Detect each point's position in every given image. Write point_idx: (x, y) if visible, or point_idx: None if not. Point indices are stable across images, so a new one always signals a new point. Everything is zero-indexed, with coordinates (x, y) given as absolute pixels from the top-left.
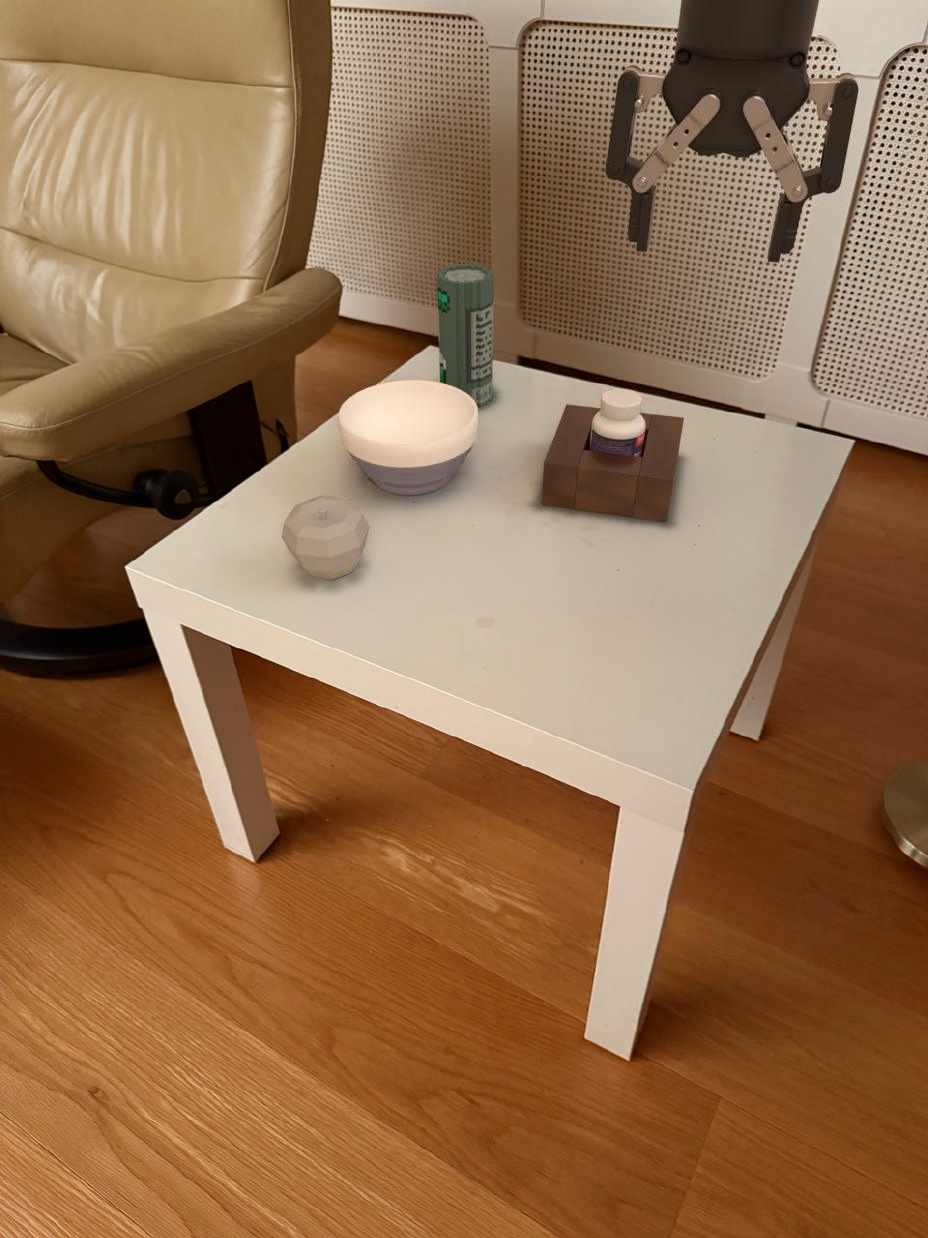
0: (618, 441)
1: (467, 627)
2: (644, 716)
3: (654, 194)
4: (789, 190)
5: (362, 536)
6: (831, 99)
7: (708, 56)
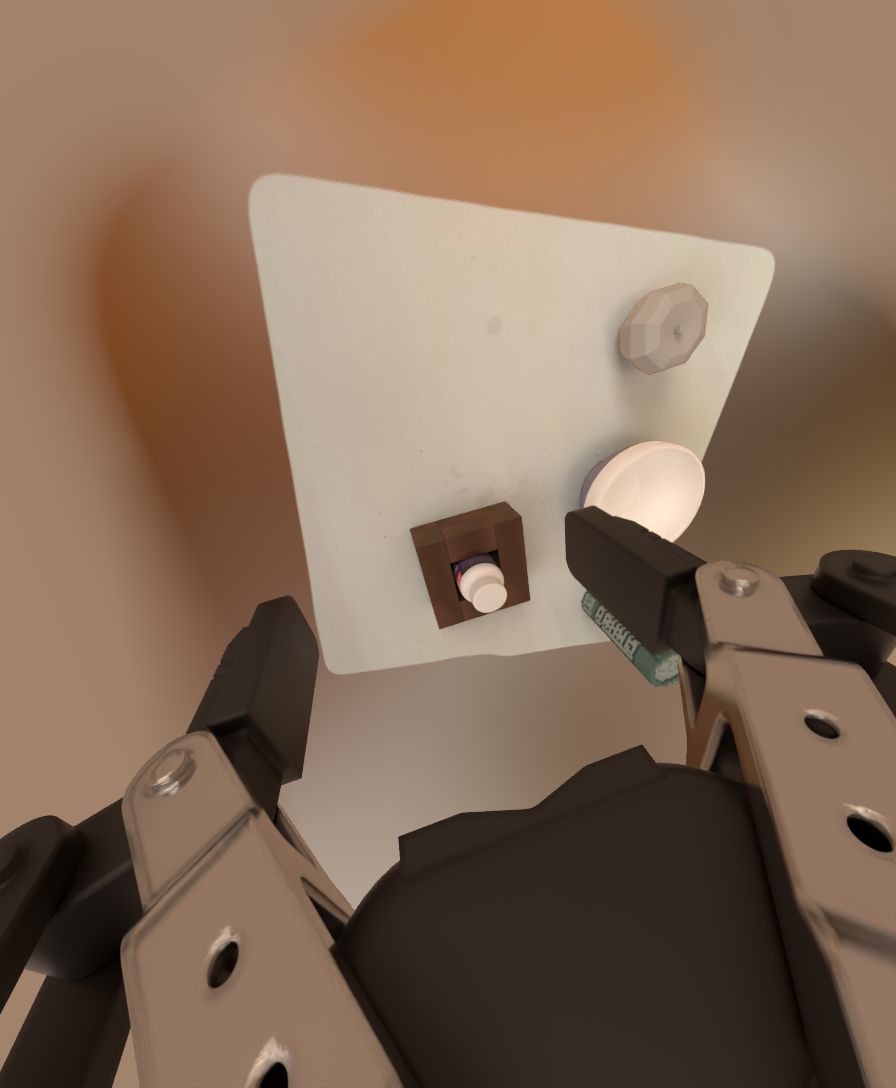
0: (474, 564)
1: (505, 310)
2: (320, 257)
3: (646, 616)
4: (202, 763)
5: (633, 337)
6: None
7: None
